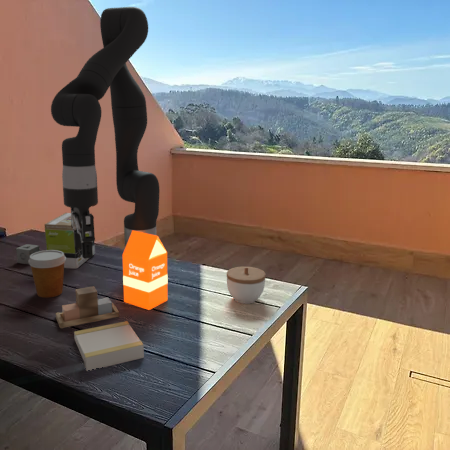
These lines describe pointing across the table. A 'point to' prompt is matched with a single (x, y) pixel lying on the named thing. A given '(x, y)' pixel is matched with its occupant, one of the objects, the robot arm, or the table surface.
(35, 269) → the disposable coffee cup
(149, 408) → the table surface
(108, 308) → the block
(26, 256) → the dice cube
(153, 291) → the orange juice
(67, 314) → the block
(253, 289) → the lidded jar
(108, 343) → the strip
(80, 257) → the tea box
